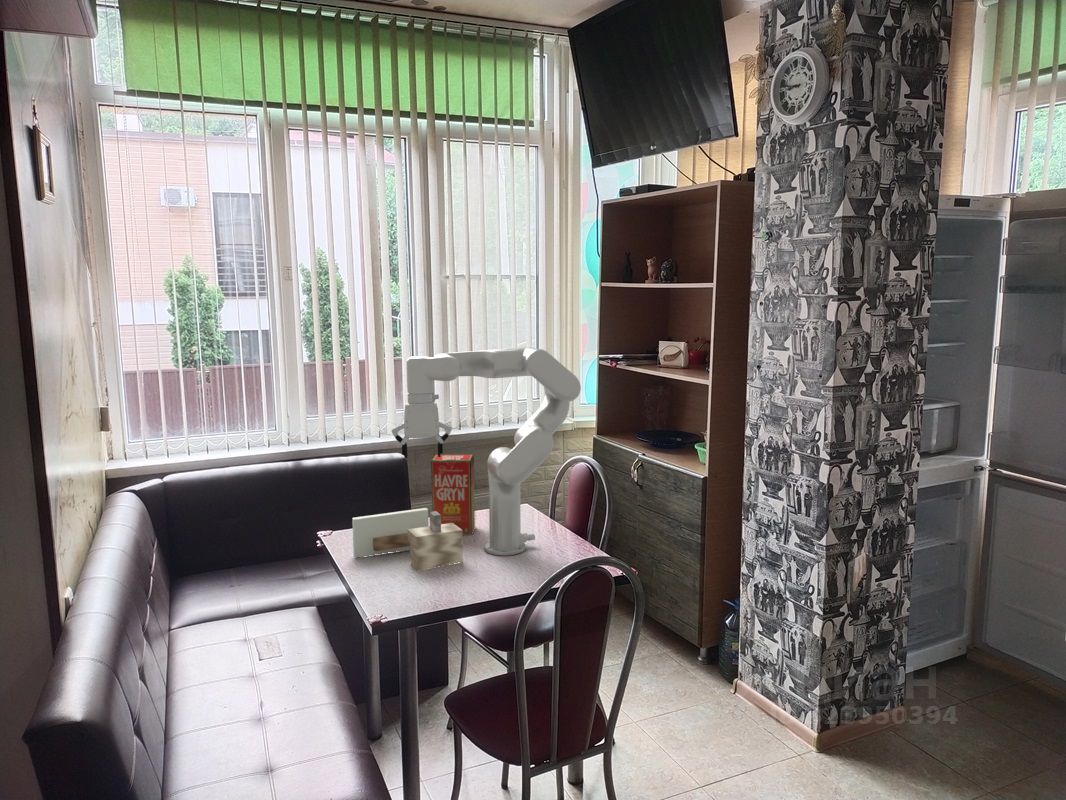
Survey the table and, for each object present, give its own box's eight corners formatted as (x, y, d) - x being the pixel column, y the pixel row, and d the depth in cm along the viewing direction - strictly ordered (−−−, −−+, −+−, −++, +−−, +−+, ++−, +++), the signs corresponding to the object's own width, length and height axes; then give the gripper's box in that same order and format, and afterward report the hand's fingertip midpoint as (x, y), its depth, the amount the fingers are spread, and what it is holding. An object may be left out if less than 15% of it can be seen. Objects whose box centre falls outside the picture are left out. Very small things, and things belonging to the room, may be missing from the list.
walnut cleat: (411, 543, 232) (411, 532, 232) (413, 545, 230) (413, 534, 230) (373, 549, 227) (373, 538, 226) (375, 551, 225) (374, 540, 225)
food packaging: (431, 534, 247) (430, 459, 244) (436, 526, 256) (434, 453, 253) (472, 535, 247) (471, 460, 243) (475, 526, 256) (474, 454, 253)
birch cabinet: (452, 554, 228) (452, 506, 226) (462, 563, 221) (462, 513, 219) (408, 562, 222) (406, 512, 220) (417, 571, 215) (415, 519, 213)
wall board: (426, 545, 237) (426, 507, 235) (429, 546, 235) (428, 509, 233) (353, 556, 226) (352, 517, 225) (355, 558, 225) (353, 519, 223)
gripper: (450, 396, 224) (452, 453, 226) (391, 398, 222) (393, 455, 224) (451, 399, 217) (452, 458, 219) (389, 401, 214) (392, 460, 217)
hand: (422, 456), depth 221 cm, fingers open, 9 cm apart
